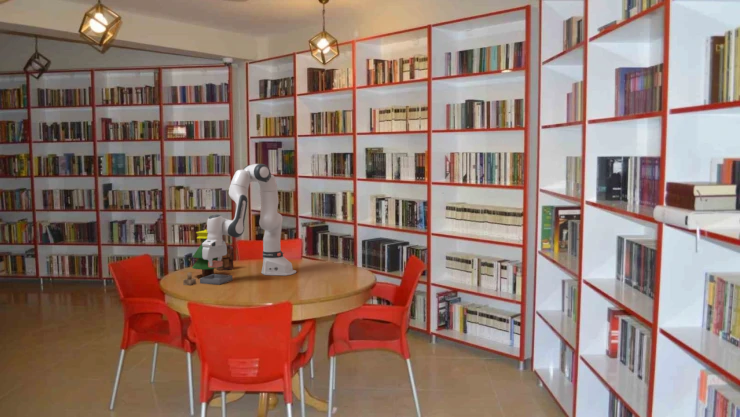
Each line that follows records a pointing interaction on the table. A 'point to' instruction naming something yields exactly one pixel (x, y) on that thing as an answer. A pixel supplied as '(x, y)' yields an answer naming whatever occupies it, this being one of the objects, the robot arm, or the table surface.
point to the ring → (216, 264)
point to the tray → (216, 279)
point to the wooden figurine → (227, 259)
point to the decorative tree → (198, 254)
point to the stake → (189, 280)
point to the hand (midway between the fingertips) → (215, 264)
